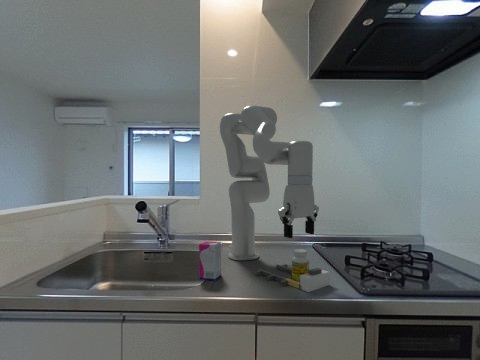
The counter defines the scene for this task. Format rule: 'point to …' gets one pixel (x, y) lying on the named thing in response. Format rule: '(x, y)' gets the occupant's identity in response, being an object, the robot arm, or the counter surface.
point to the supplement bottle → (299, 264)
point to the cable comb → (307, 281)
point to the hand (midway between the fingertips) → (299, 235)
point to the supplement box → (210, 260)
